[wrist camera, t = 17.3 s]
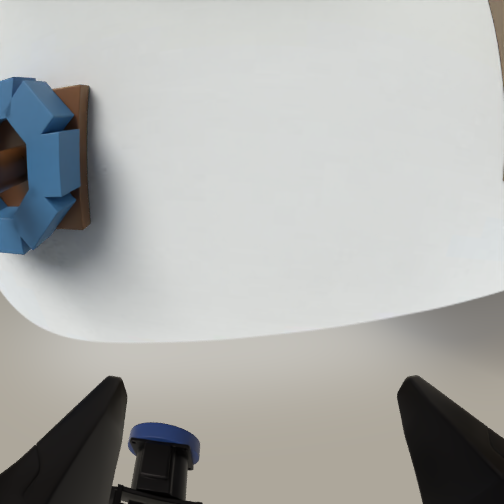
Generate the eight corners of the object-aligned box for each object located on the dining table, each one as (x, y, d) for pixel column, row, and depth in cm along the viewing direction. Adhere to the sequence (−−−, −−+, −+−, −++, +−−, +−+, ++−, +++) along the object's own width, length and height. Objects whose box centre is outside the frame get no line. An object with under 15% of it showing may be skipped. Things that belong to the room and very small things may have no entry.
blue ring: (86, 242, 17) (69, 259, 15) (-20, 236, 16) (-38, 248, 14) (83, 68, 13) (63, 63, 11) (-30, 98, 12) (-51, 101, 10)
